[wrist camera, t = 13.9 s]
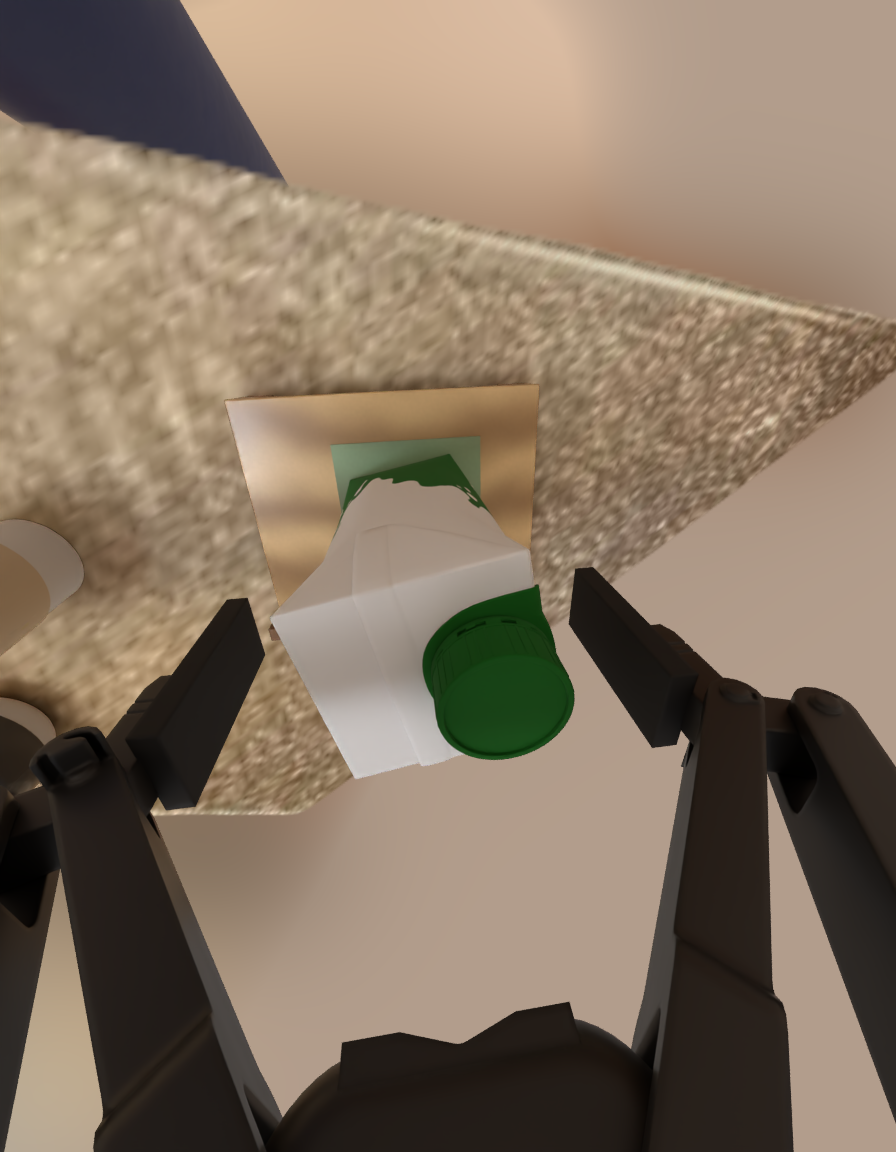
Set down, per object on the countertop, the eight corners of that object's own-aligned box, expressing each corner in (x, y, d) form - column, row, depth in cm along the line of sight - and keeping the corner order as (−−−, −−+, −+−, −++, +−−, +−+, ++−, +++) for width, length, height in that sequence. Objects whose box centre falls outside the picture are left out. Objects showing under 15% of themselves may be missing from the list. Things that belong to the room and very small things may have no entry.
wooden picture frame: (245, 396, 28) (202, 402, 22) (523, 383, 30) (555, 385, 24) (293, 594, 36) (271, 641, 29) (515, 575, 37) (539, 615, 31)
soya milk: (484, 551, 31) (598, 788, 13) (371, 581, 31) (333, 855, 13) (459, 435, 27) (575, 552, 9) (329, 470, 27) (198, 651, 9)
